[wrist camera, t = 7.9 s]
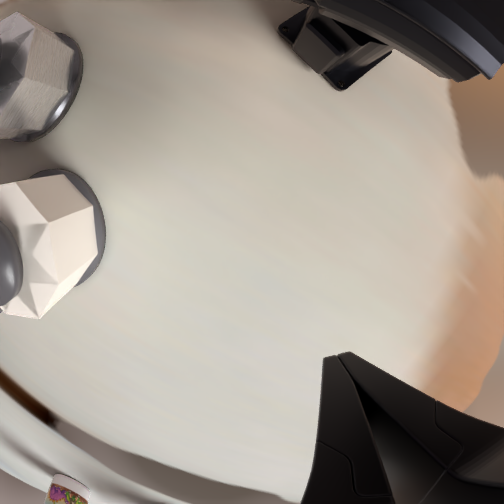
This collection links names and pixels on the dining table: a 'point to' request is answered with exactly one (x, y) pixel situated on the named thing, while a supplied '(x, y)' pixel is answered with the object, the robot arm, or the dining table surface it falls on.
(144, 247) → the dining table surface
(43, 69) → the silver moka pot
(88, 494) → the milk bottle
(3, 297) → the cream plunger
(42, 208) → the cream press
